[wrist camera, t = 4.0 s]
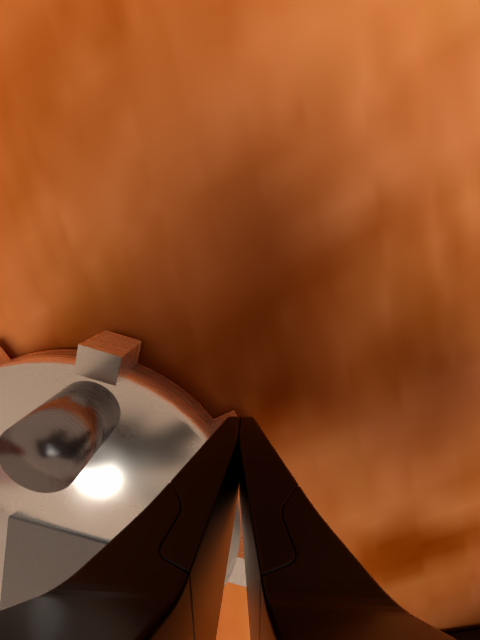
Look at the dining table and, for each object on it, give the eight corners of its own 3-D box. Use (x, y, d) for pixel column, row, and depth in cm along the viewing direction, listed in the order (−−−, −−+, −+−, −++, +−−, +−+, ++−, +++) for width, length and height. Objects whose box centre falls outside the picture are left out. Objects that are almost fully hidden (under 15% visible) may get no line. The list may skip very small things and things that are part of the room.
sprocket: (313, 392, 11) (349, 472, 7) (210, 637, 16) (195, 778, 11) (-75, 276, 11) (-279, 289, 7) (-73, 561, 15) (-197, 679, 11)
